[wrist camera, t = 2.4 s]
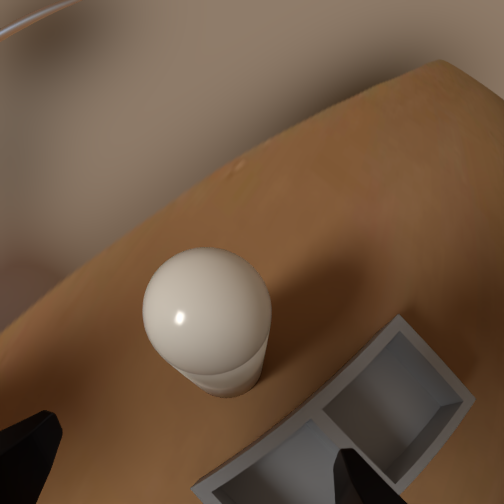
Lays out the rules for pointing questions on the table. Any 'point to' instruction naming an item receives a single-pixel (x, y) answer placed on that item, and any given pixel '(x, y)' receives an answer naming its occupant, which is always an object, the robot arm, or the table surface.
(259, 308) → the white dome-topped cylinder
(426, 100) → the table surface
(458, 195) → the table surface
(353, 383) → the two-compartment grey tray
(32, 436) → the robot arm
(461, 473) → the table surface
